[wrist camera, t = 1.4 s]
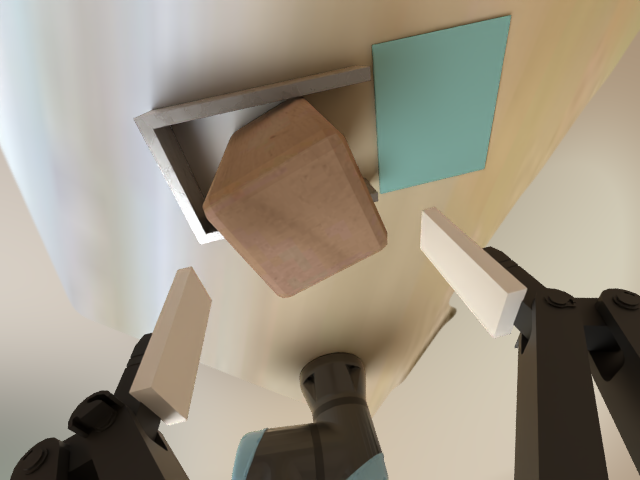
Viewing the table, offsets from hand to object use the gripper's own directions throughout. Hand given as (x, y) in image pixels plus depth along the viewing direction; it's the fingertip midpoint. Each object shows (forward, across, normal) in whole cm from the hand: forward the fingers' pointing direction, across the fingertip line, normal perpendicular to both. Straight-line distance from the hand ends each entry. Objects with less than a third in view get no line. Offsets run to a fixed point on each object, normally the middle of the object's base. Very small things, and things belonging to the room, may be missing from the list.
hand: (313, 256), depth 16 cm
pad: (+23, -20, 0) cm, 30 cm away
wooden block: (+23, 0, 0) cm, 23 cm away
